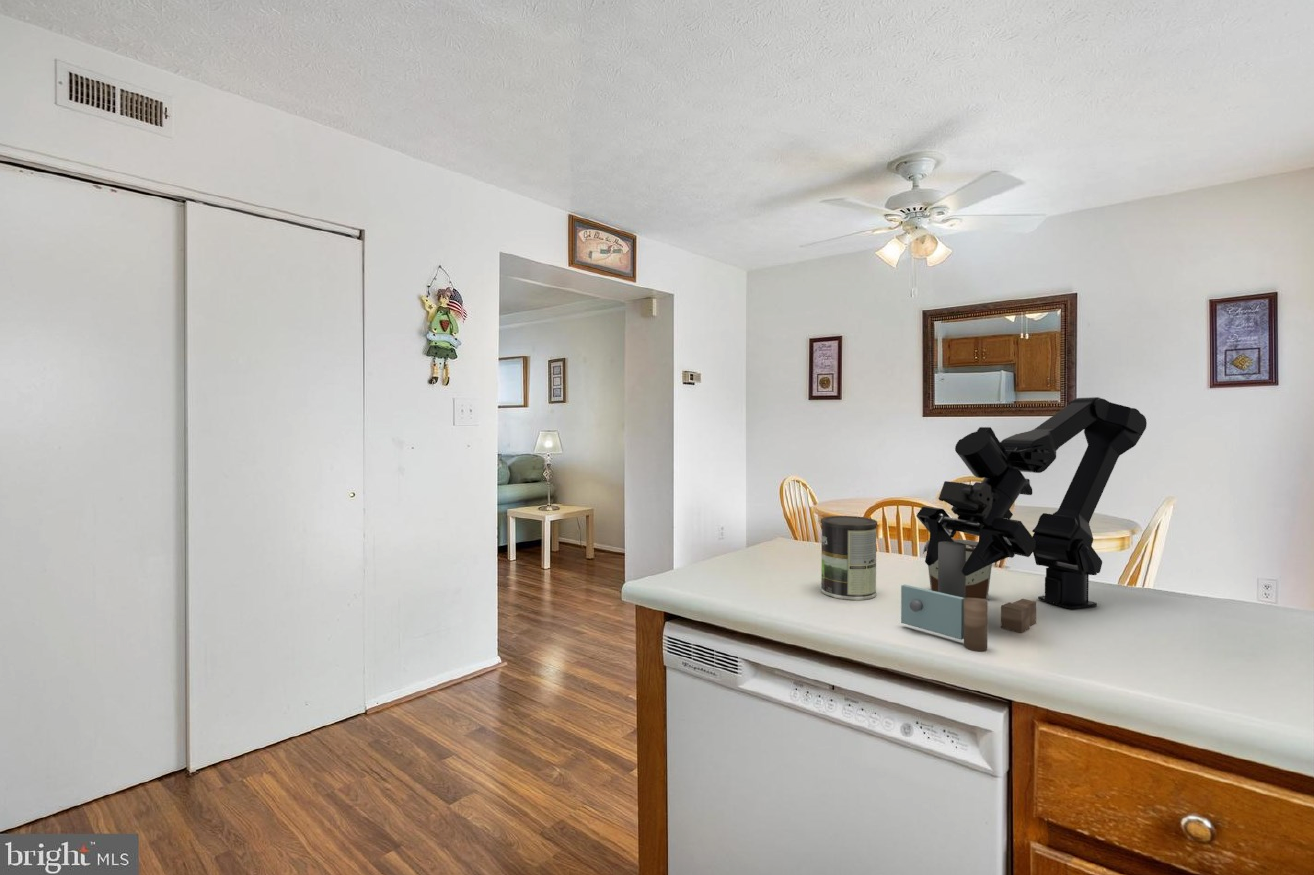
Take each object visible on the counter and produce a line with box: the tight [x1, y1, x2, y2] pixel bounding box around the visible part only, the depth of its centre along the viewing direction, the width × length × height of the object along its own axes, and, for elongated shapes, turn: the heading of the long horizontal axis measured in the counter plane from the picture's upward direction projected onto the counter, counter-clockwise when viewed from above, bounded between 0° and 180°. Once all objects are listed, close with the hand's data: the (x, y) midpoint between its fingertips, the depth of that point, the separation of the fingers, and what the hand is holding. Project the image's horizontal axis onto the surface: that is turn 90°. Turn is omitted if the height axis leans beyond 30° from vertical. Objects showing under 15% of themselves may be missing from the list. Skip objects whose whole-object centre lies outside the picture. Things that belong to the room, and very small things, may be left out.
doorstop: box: [938, 541, 966, 598], centre depth 97 cm, size 6×6×13 cm
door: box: [900, 584, 965, 641], centre depth 91 cm, size 10×2×6 cm, turn 37°
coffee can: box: [820, 515, 878, 601], centre depth 115 cm, size 10×10×14 cm
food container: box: [922, 538, 993, 602], centre depth 114 cm, size 12×6×10 cm, turn 71°
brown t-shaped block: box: [963, 598, 1037, 652], centre depth 92 cm, size 20×3×7 cm, turn 127°
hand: (944, 568), depth 96 cm, fingers open, 7 cm apart
